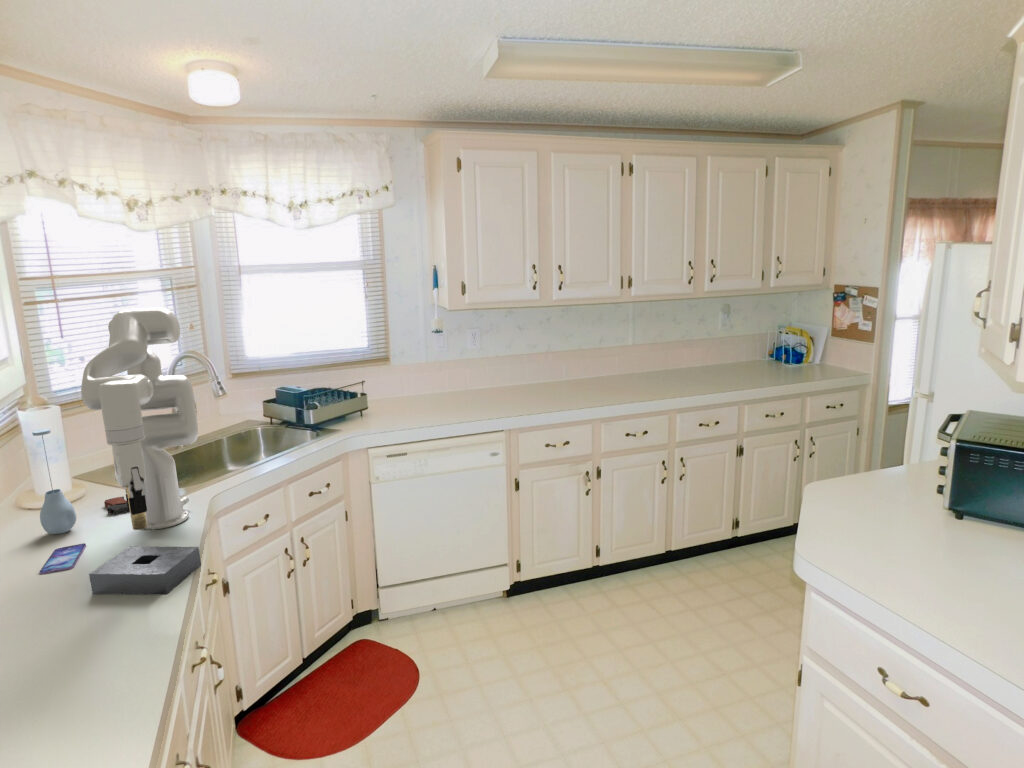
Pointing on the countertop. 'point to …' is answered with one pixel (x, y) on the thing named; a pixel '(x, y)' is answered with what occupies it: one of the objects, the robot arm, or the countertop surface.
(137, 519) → the brass pin
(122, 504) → the handgun
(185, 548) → the block
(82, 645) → the countertop surface
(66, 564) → the smartphone
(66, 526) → the pendant light
